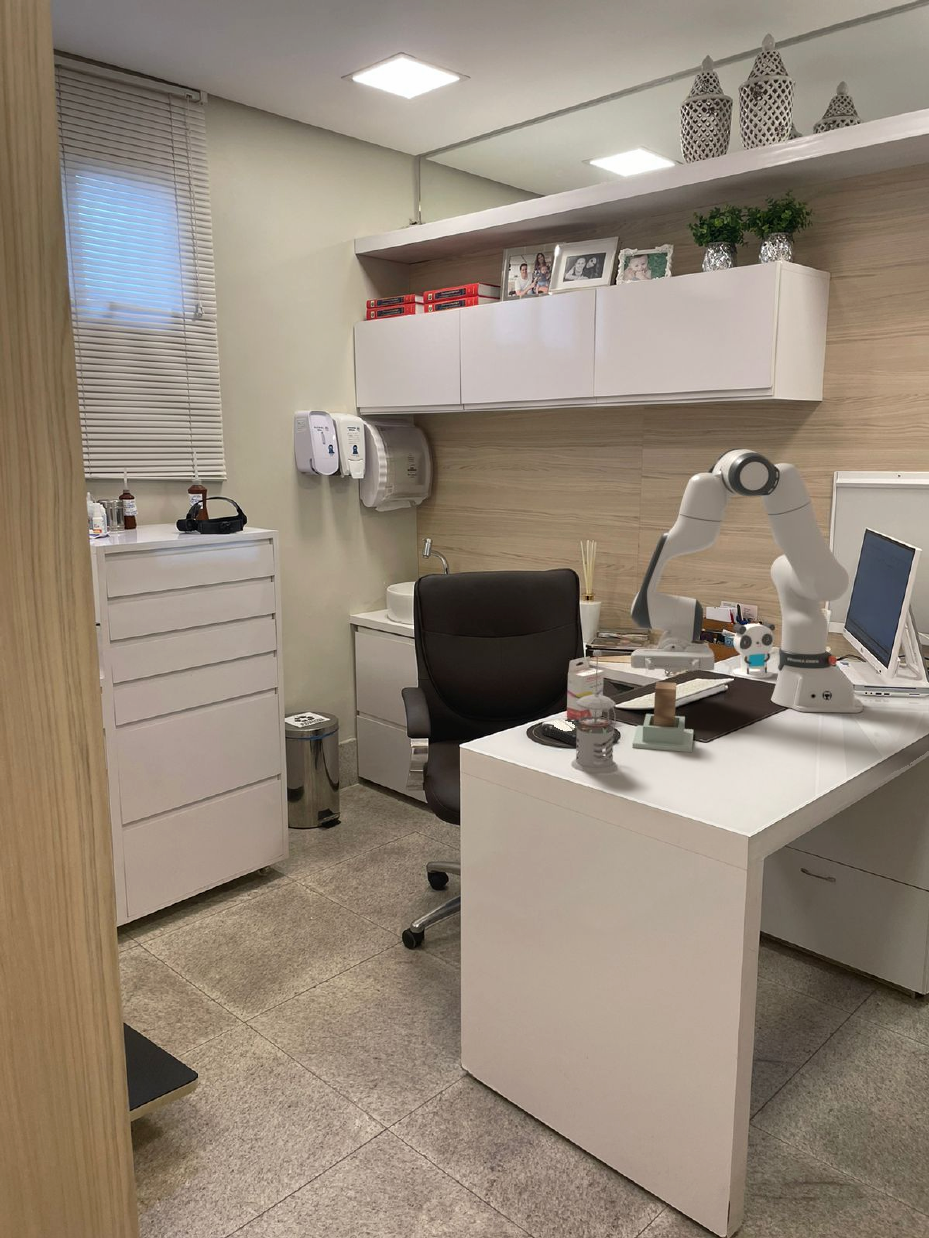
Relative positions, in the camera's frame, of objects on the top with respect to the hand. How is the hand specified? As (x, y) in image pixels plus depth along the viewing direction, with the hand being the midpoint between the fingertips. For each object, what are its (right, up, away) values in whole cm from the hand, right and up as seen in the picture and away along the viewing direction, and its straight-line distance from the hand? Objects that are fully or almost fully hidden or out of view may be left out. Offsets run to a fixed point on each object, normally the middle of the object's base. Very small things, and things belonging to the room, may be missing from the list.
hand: (671, 667), depth 226 cm
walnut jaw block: (-4, -15, -10) cm, 19 cm away
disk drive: (-23, -17, -8) cm, 30 cm away
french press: (-22, -20, -26) cm, 39 cm away
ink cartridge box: (-20, -13, +8) cm, 25 cm away
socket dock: (-4, -16, -10) cm, 19 cm away
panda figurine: (+36, -5, +53) cm, 64 cm away
